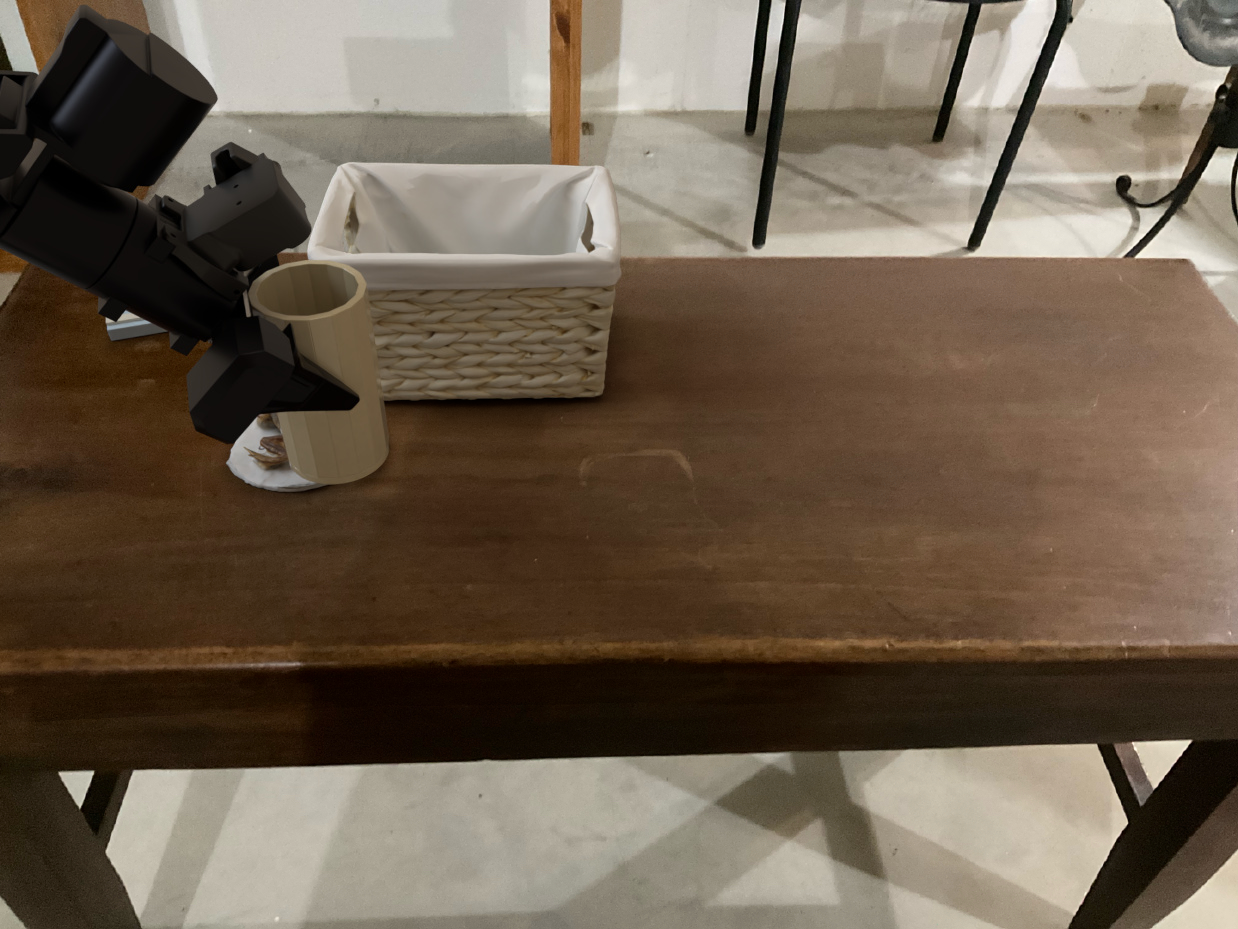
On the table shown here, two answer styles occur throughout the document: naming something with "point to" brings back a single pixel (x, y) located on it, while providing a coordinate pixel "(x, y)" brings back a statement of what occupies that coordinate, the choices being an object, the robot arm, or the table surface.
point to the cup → (329, 367)
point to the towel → (130, 327)
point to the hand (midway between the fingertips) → (346, 370)
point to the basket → (480, 274)
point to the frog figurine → (265, 458)
